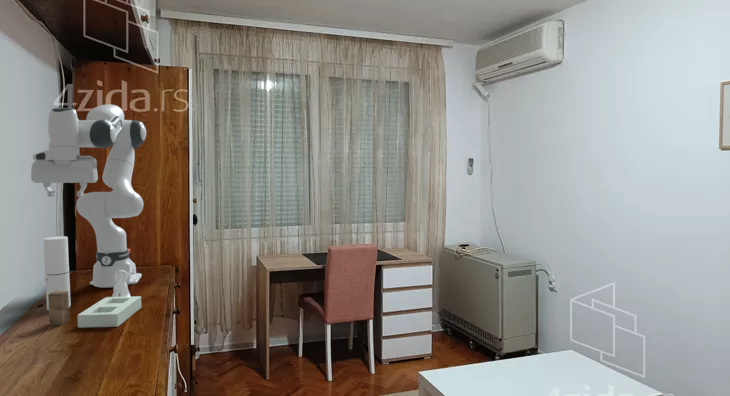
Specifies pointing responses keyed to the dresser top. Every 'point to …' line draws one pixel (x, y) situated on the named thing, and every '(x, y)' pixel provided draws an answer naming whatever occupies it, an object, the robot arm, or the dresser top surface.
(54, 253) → the cylindrical container
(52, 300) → the wood grain block
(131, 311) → the socket board
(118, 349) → the dresser top surface
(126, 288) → the sitting furry creature
